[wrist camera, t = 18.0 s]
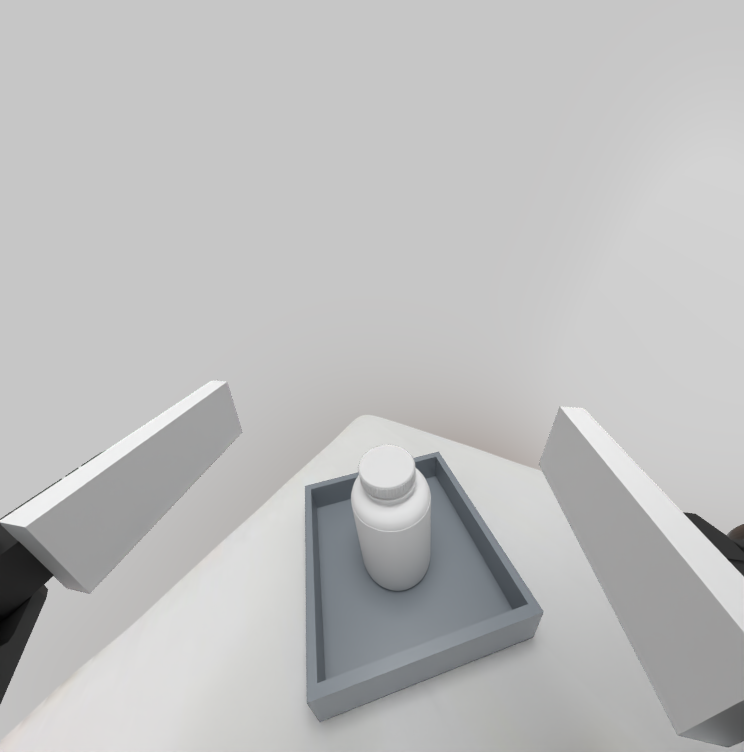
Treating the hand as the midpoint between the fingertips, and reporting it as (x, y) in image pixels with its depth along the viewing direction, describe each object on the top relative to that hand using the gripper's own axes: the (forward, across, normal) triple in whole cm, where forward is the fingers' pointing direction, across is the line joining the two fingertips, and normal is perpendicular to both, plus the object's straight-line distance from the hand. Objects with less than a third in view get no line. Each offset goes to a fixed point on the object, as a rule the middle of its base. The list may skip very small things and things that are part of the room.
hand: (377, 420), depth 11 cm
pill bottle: (+10, +1, -27) cm, 29 cm away
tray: (+10, +1, -28) cm, 29 cm away
